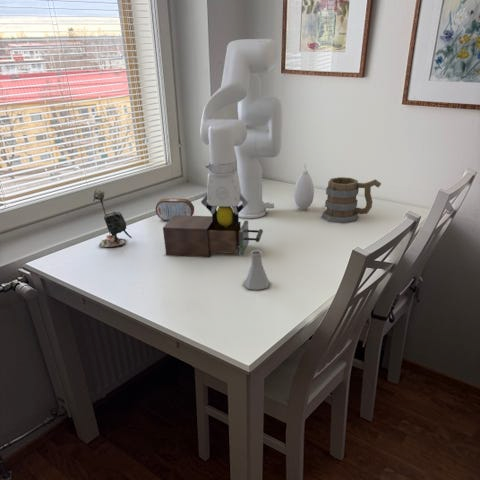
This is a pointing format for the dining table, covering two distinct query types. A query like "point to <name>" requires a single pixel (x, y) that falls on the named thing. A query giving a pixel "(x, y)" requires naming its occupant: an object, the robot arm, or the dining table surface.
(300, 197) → the air blower bulb
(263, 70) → the robot arm
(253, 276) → the flask
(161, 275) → the dining table surface
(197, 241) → the cabinet
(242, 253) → the drawer
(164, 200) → the tin
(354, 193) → the tankard
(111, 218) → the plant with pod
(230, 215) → the lemon
